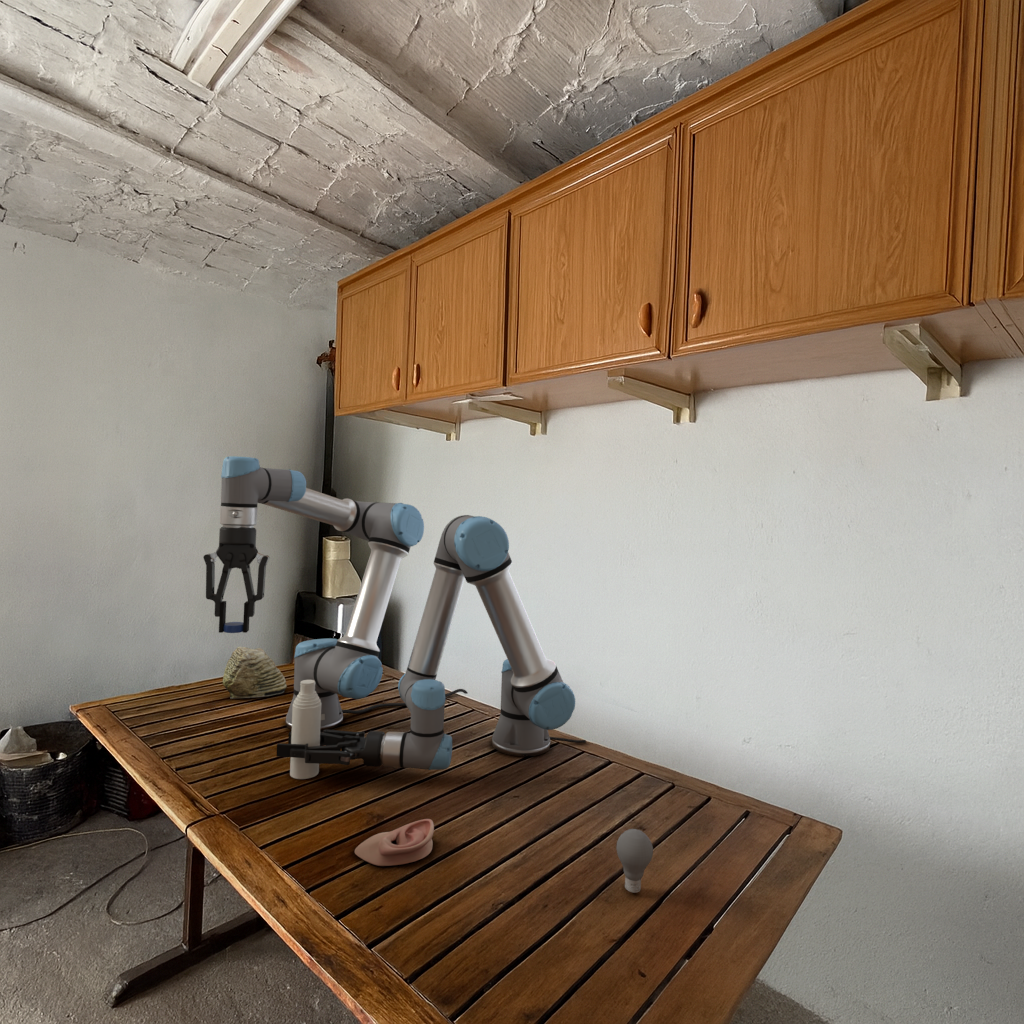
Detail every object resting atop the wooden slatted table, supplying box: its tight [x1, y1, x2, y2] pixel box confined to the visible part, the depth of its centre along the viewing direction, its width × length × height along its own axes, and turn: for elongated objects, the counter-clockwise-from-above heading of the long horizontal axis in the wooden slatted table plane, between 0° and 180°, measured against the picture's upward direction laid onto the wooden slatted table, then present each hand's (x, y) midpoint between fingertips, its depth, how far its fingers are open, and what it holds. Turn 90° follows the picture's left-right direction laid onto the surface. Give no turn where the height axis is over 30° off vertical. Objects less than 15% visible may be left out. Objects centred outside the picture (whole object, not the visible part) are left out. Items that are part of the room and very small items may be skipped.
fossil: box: [222, 646, 288, 699], centre depth 198 cm, size 9×18×15 cm, turn 132°
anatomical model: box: [354, 818, 435, 867], centre depth 115 cm, size 13×4×12 cm
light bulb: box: [615, 828, 654, 894], centre depth 106 cm, size 6×6×10 cm
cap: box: [223, 621, 243, 634], centre depth 141 cm, size 4×4×2 cm
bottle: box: [289, 680, 321, 780], centre depth 144 cm, size 6×6×21 cm
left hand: (234, 631), depth 141 cm, fingers closed on cap, 4 cm apart
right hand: (283, 743), depth 145 cm, fingers closed on bottle, 6 cm apart
